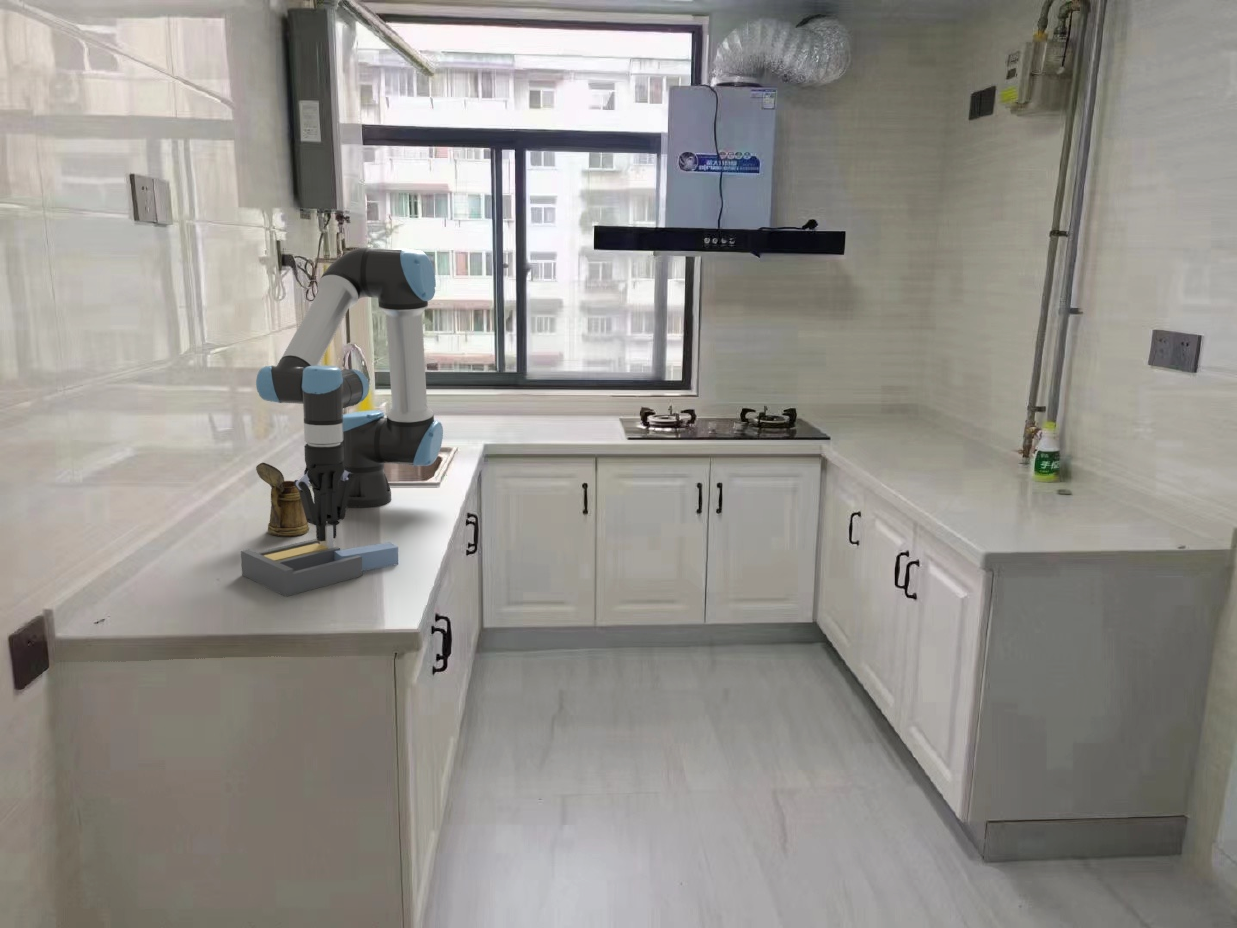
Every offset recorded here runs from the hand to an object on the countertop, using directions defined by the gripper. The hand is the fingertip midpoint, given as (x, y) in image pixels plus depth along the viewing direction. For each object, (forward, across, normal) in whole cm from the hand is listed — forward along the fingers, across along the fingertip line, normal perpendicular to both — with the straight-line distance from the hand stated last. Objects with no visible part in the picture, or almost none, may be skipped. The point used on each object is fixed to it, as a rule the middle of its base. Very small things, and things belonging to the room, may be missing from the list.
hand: (326, 554), depth 187 cm
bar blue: (+2, -4, +8) cm, 9 cm away
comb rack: (+2, +8, +4) cm, 9 cm away
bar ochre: (+2, +7, 0) cm, 7 cm away
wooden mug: (+2, -4, -23) cm, 24 cm away
